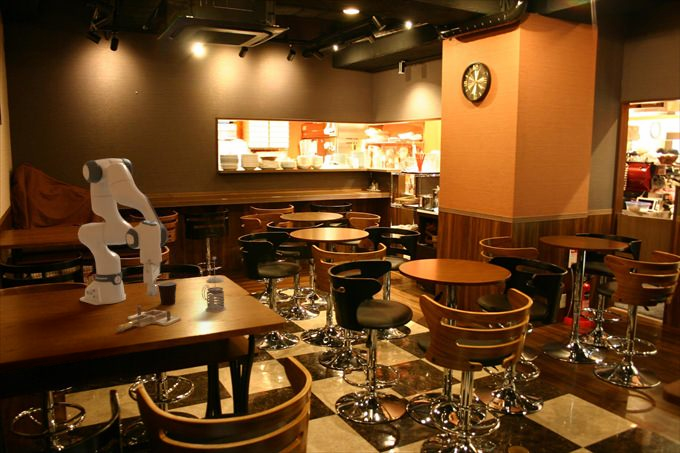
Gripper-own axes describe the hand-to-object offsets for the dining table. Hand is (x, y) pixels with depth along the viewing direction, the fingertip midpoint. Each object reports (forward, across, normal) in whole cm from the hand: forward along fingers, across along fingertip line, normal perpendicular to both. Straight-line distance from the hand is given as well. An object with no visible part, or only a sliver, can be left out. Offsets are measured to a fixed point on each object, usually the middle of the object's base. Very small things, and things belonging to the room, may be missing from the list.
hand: (152, 289), depth 242 cm
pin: (+14, -11, +8) cm, 20 cm away
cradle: (+14, -2, +2) cm, 14 cm away
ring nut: (+3, 0, 0) cm, 3 cm away
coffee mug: (+14, +27, -3) cm, 31 cm away
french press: (+14, +12, -25) cm, 31 cm away
